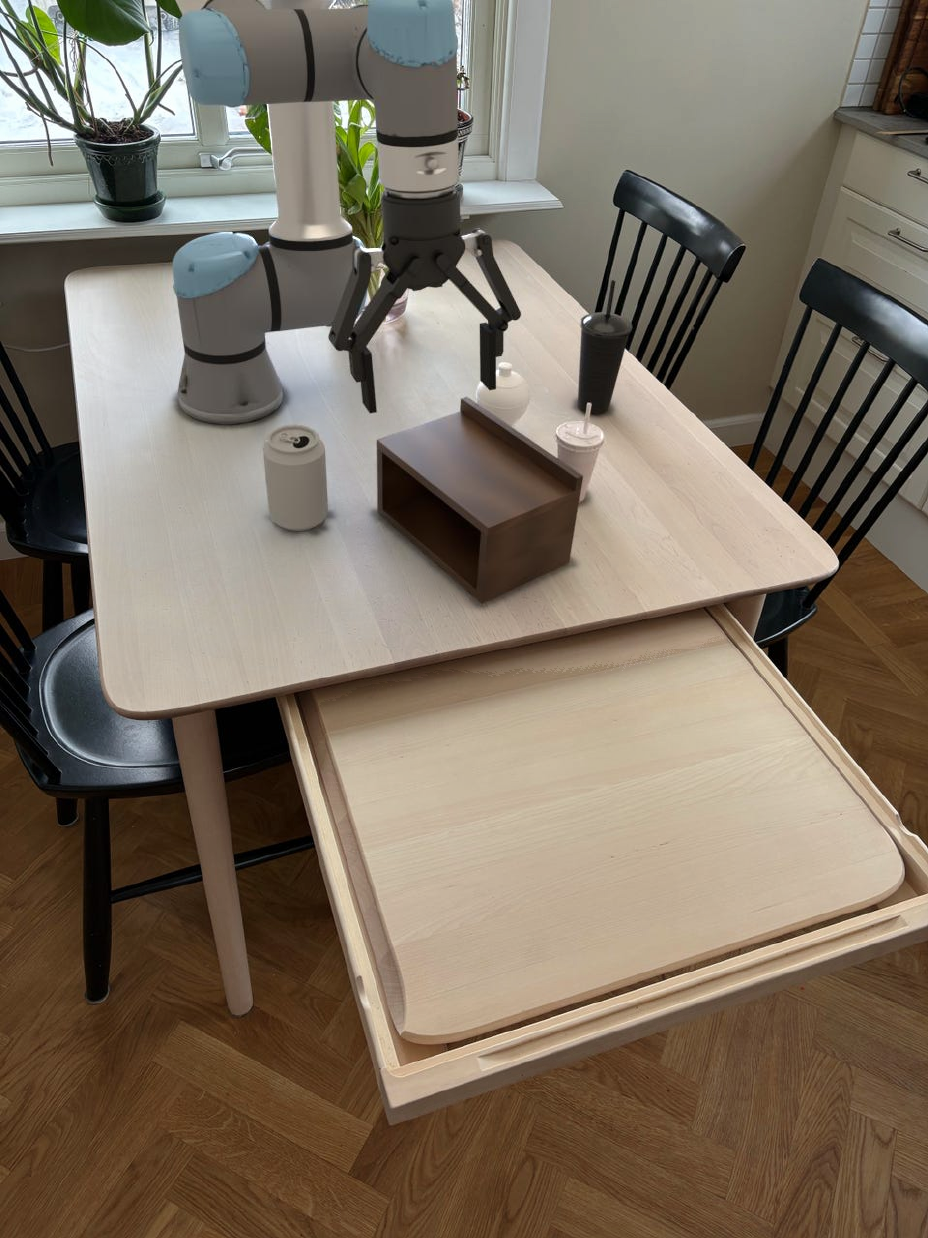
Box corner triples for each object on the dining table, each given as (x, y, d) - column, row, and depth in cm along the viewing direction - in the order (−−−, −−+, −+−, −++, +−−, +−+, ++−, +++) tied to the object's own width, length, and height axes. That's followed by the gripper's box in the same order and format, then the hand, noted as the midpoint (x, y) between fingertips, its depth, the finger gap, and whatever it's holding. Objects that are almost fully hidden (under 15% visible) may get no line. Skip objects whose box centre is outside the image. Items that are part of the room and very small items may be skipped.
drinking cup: (583, 423, 145) (603, 294, 132) (559, 399, 151) (576, 273, 137) (626, 414, 148) (650, 288, 135) (601, 391, 153) (622, 267, 140)
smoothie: (592, 511, 128) (608, 419, 119) (545, 504, 129) (557, 412, 120) (596, 485, 133) (611, 394, 124) (550, 479, 134) (562, 387, 124)
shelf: (461, 479, 132) (466, 396, 124) (569, 562, 120) (583, 475, 111) (377, 512, 125) (376, 426, 117) (482, 603, 113) (489, 514, 104)
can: (317, 538, 121) (312, 456, 113) (261, 529, 122) (252, 447, 114) (335, 505, 126) (332, 425, 118) (281, 496, 127) (274, 416, 119)
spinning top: (520, 457, 137) (528, 381, 129) (468, 449, 138) (473, 373, 130) (528, 431, 143) (537, 356, 135) (478, 423, 144) (483, 348, 136)
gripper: (300, 215, 84) (327, 433, 98) (556, 181, 91) (549, 389, 104) (280, 193, 90) (308, 402, 103) (524, 163, 97) (521, 363, 110)
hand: (429, 396), depth 104 cm, fingers open, 13 cm apart
